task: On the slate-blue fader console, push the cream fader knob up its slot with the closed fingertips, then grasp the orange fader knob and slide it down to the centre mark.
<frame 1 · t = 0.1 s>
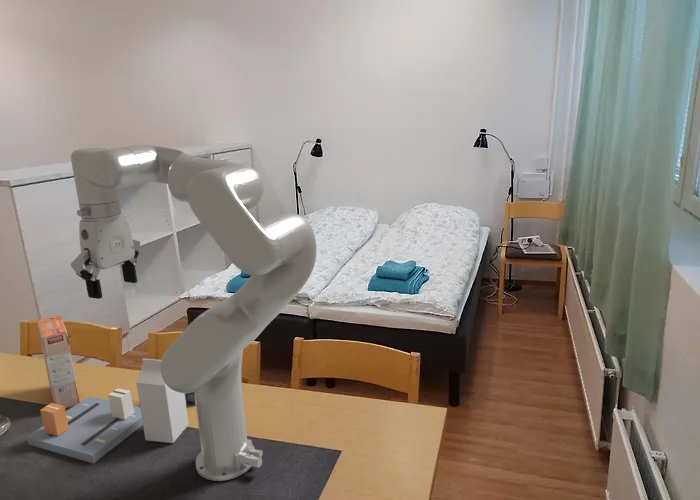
hand: (113, 289, 109), 37 cm above the table, tool pointing down, fingers open, 9 cm apart
milk carton: (167, 433, 121), on the table
orange knob: (54, 419, 119), point 5 cm above the table, slide at 10.5 cm
cracker box: (65, 397, 138), on the table
cream knob: (121, 403, 124), point 5 cm above the table, slide at 0.5 cm
label tape box: (185, 400, 135), on the table
fader console: (92, 430, 123), on the table
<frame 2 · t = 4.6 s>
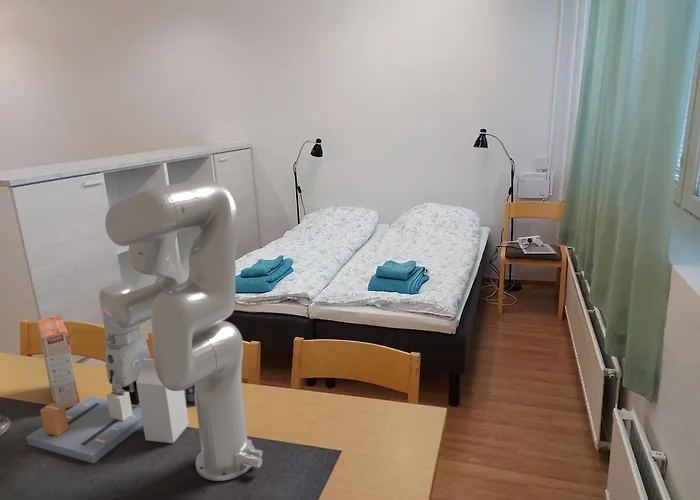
hand: (134, 402, 128), 3 cm above the table, tool pointing down, fingers closed
cream knob: (119, 404, 124), point 5 cm above the table, slide at 1.0 cm, touching gripper
everything else where it was.
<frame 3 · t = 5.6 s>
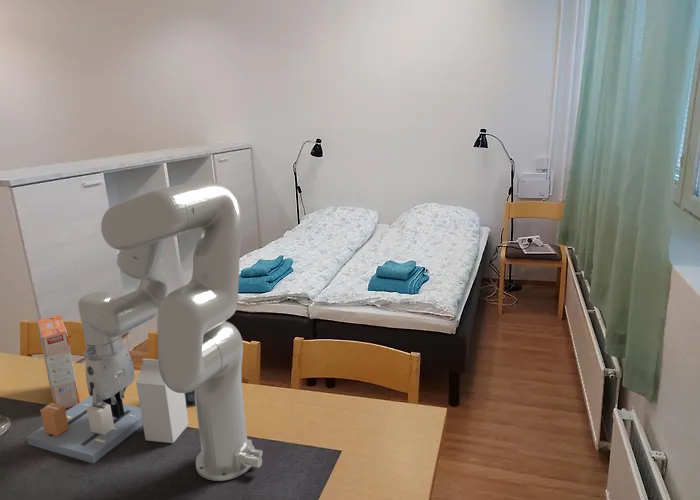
hand: (117, 415, 123), 3 cm above the table, tool pointing down, fingers closed
cream knob: (100, 418, 119), point 5 cm above the table, slide at 6.8 cm, touching gripper
everything else where it was.
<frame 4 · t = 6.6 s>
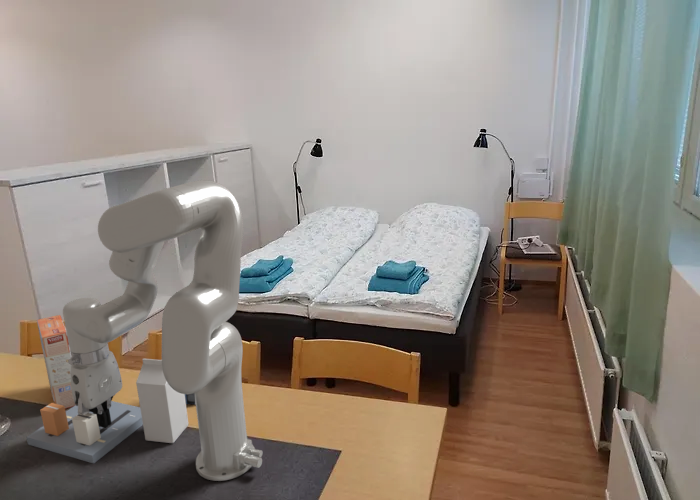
hand: (103, 424, 120), 3 cm above the table, tool pointing down, fingers closed
cream knob: (86, 428, 115), point 5 cm above the table, slide at 10.7 cm, touching gripper
everything else where it was.
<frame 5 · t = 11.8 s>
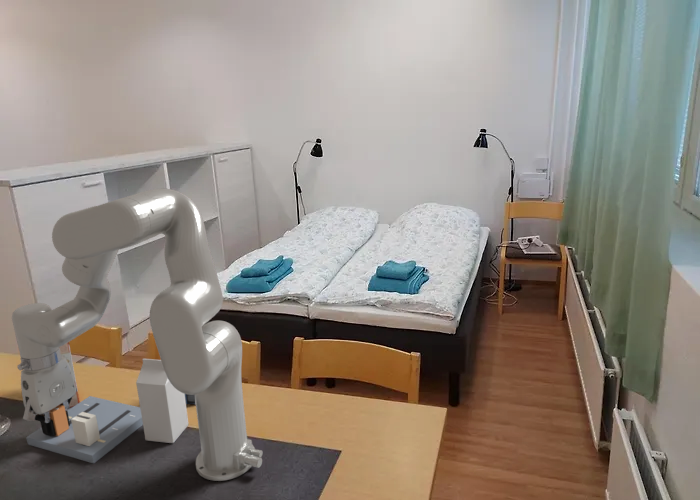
hand: (57, 429, 120), 2 cm above the table, tool pointing down, fingers closed on orange knob, 3 cm apart
orange knob: (54, 419, 119), point 5 cm above the table, slide at 10.5 cm, touching gripper
cream knob: (85, 428, 115), point 5 cm above the table, slide at 11.0 cm
everything else where it was.
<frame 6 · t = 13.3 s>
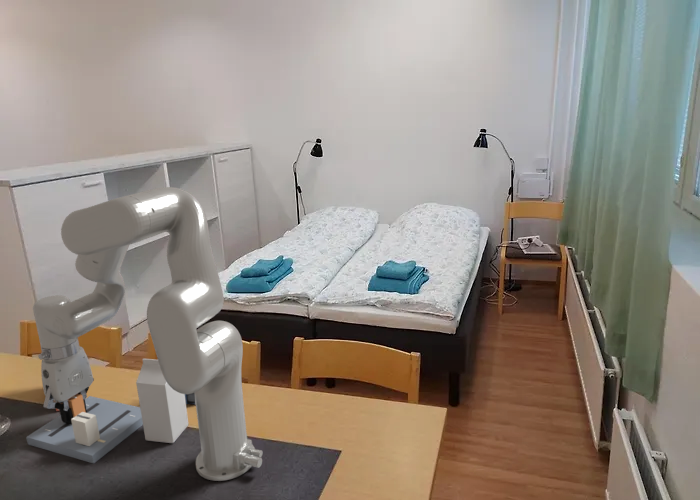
hand: (74, 417, 124), 2 cm above the table, tool pointing down, fingers closed on orange knob, 3 cm apart
orange knob: (72, 407, 123), point 5 cm above the table, slide at 5.5 cm, touching gripper
everything else where it was.
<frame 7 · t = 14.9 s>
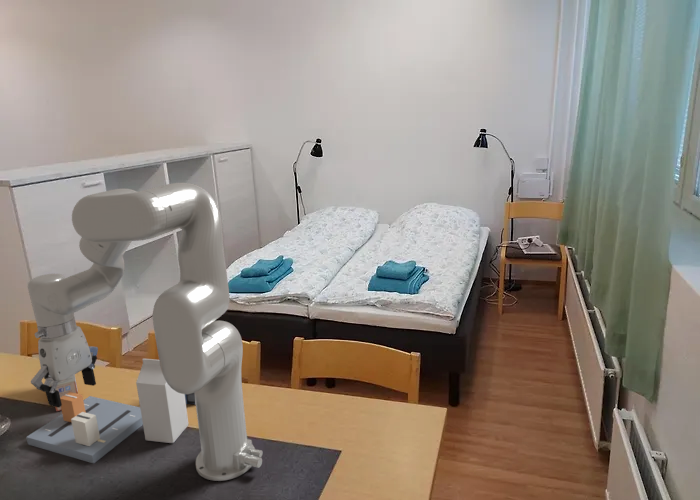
hand: (73, 394, 122), 9 cm above the table, tool pointing down, fingers open, 9 cm apart
orange knob: (72, 407, 123), point 5 cm above the table, slide at 5.5 cm
everything else where it was.
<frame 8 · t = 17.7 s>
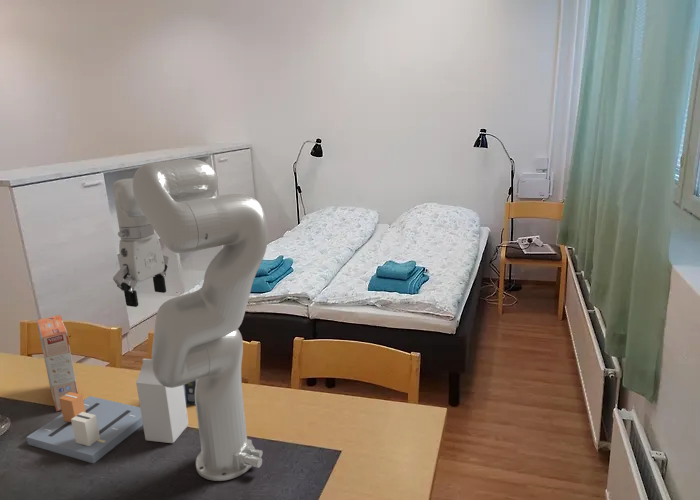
hand: (147, 298, 127), 28 cm above the table, tool pointing down, fingers open, 9 cm apart
nothing on the table moved.
at the end: cream knob slide at 11.0 cm; orange knob slide at 5.5 cm; the gripper is holding nothing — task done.
